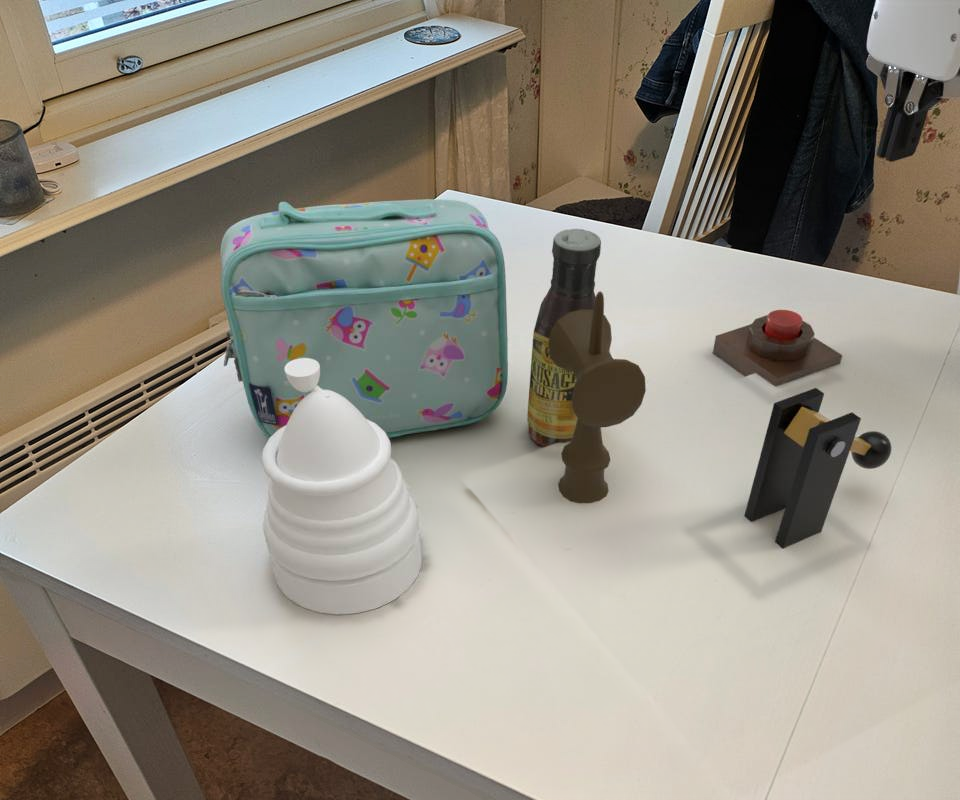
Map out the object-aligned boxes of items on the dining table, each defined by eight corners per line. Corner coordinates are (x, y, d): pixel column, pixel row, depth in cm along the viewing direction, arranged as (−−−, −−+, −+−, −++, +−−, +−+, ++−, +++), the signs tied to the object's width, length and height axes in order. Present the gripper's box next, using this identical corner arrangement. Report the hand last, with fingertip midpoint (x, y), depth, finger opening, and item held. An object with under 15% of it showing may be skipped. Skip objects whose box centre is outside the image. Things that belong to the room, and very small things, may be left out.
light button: (782, 321, 98) (786, 306, 96) (805, 336, 95) (810, 320, 94) (756, 330, 96) (760, 314, 95) (779, 345, 94) (783, 329, 93)
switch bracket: (795, 485, 84) (833, 363, 75) (866, 541, 79) (916, 416, 69) (693, 527, 80) (719, 404, 71) (760, 589, 75) (798, 464, 66)
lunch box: (246, 467, 87) (190, 248, 71) (242, 408, 94) (191, 196, 78) (513, 431, 91) (516, 214, 75) (491, 377, 98) (490, 167, 82)
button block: (774, 332, 103) (782, 299, 100) (837, 373, 97) (847, 339, 94) (712, 353, 100) (718, 320, 97) (772, 397, 94) (781, 362, 91)
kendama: (564, 535, 80) (579, 327, 65) (538, 471, 86) (546, 267, 71) (629, 526, 81) (658, 318, 66) (598, 462, 87) (618, 259, 72)
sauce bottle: (514, 440, 90) (518, 241, 75) (547, 410, 93) (557, 214, 78) (571, 462, 87) (586, 261, 72) (603, 430, 91) (624, 232, 76)
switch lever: (855, 459, 81) (878, 427, 79) (881, 478, 79) (905, 446, 77) (776, 434, 72) (800, 398, 71) (803, 454, 70) (829, 418, 69)
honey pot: (245, 559, 78) (193, 376, 65) (361, 495, 84) (336, 314, 71) (332, 638, 72) (295, 453, 59) (452, 563, 78) (443, 378, 64)
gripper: (1086, -94, 65) (991, 172, 79) (925, -120, 74) (865, 123, 88) (1014, -79, 63) (929, 193, 77) (857, -107, 72) (806, 140, 86)
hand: (895, 155), depth 82 cm, fingers closed
